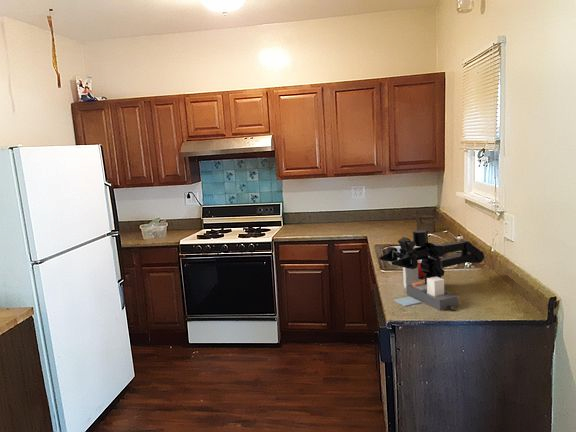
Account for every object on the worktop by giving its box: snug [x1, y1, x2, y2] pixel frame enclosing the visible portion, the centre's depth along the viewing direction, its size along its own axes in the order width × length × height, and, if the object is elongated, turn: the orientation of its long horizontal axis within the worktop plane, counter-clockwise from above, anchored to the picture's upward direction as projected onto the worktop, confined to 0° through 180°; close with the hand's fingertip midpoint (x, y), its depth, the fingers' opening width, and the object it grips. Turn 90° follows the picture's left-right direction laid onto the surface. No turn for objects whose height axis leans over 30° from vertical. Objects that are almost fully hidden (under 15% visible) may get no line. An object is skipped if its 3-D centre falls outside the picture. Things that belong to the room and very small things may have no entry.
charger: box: [427, 277, 445, 297], centre depth 183 cm, size 5×5×7 cm
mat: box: [393, 296, 422, 307], centre depth 187 cm, size 8×8×1 cm
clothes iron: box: [411, 213, 436, 234], centre depth 327 cm, size 8×16×13 cm, turn 65°
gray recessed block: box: [406, 280, 459, 312], centre depth 185 cm, size 9×25×5 cm, turn 20°
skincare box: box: [402, 266, 419, 290], centre depth 205 cm, size 6×4×12 cm
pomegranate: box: [418, 260, 426, 279], centre depth 221 cm, size 10×10×9 cm
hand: (385, 260), depth 192 cm, fingers open, 9 cm apart
